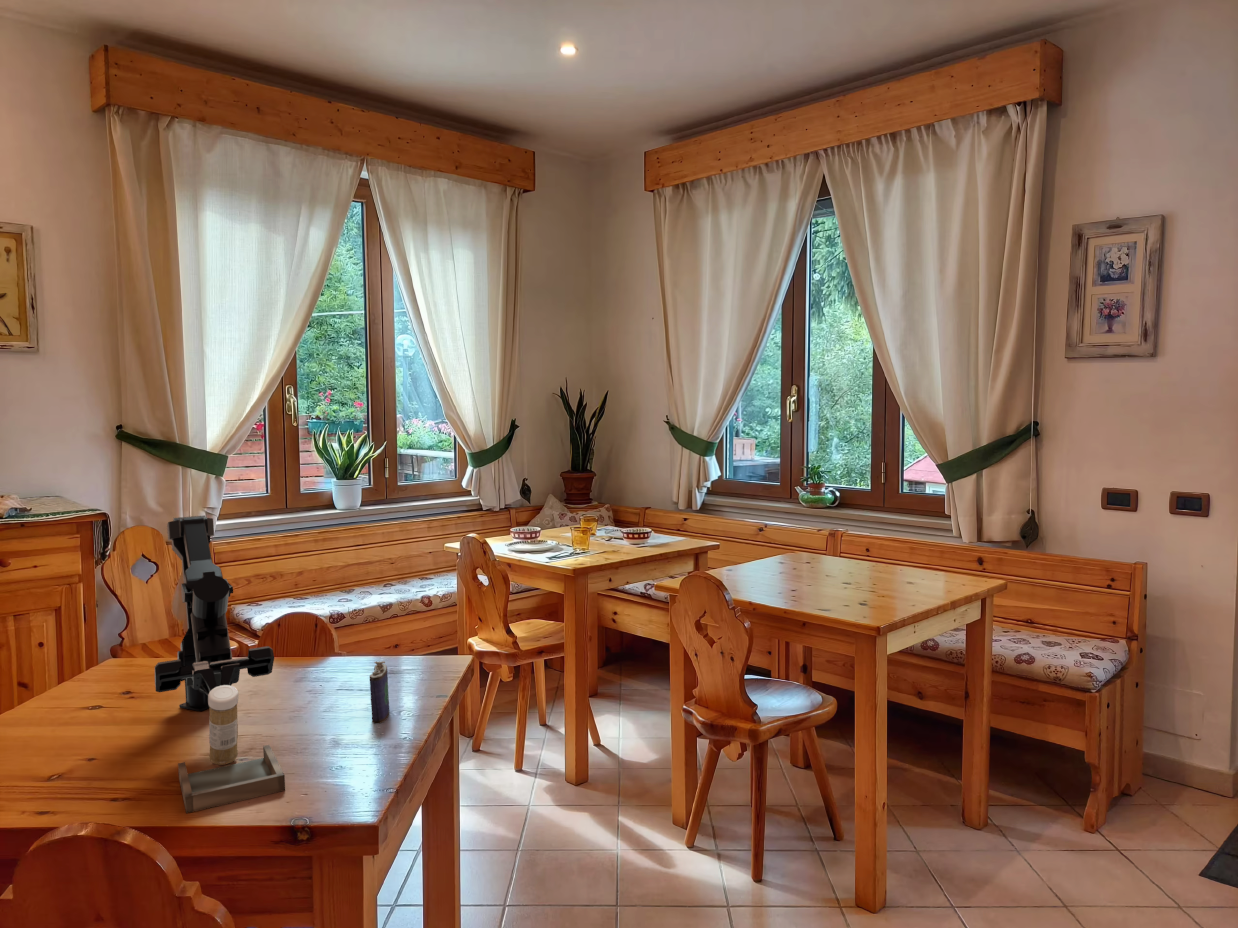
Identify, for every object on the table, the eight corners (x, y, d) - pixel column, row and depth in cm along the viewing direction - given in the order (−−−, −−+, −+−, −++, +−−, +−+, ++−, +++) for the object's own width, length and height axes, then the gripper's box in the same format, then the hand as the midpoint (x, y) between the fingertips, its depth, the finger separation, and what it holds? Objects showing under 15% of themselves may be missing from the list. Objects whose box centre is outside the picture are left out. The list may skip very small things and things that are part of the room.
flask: (376, 707, 173) (374, 654, 172) (392, 706, 173) (390, 653, 172) (370, 724, 164) (368, 668, 163) (386, 723, 164) (384, 667, 163)
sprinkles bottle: (237, 745, 150) (237, 682, 146) (238, 763, 147) (239, 699, 142) (208, 749, 148) (207, 685, 143) (208, 768, 145) (208, 702, 140)
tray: (178, 778, 141) (178, 763, 141) (270, 758, 148) (269, 744, 148) (186, 813, 129) (185, 796, 128) (285, 790, 136) (284, 774, 136)
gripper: (262, 650, 165) (275, 723, 156) (152, 666, 156) (158, 745, 147) (267, 617, 158) (281, 692, 149) (152, 632, 148) (159, 713, 140)
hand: (221, 711), depth 146 cm, fingers closed
